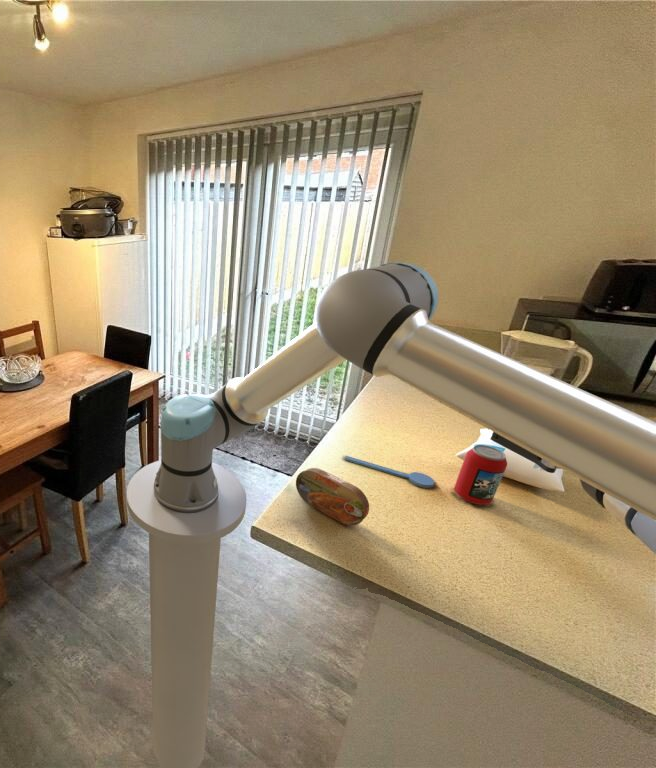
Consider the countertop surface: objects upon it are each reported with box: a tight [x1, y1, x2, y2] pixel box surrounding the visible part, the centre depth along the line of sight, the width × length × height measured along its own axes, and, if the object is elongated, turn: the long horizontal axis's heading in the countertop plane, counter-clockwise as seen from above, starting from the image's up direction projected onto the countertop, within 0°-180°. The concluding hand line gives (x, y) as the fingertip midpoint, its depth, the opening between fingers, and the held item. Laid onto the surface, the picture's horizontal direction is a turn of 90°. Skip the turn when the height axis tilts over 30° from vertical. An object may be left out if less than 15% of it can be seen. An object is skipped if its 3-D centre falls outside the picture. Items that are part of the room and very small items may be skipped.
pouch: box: [455, 428, 566, 493], centre depth 95 cm, size 8×19×20 cm
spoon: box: [344, 455, 435, 489], centre depth 96 cm, size 19×5×1 cm, turn 53°
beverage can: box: [453, 445, 507, 505], centre depth 85 cm, size 7×7×12 cm
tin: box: [295, 467, 370, 526], centre depth 83 cm, size 15×3×8 cm, turn 37°
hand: (539, 418), depth 69 cm, fingers open, 13 cm apart
